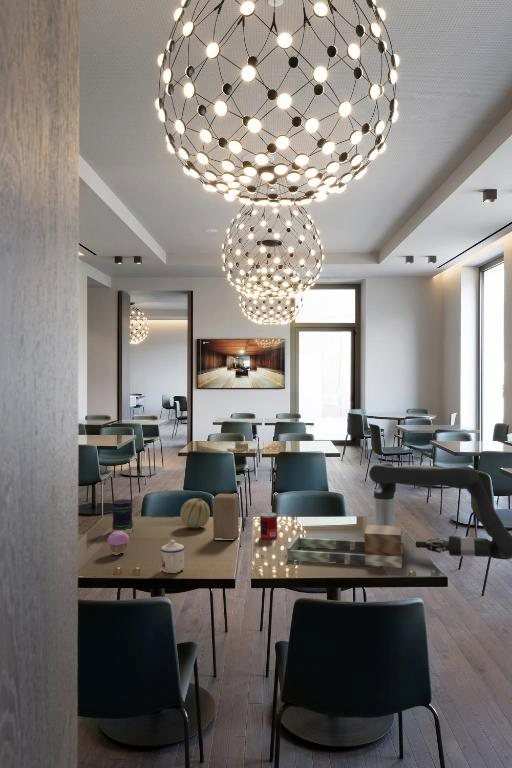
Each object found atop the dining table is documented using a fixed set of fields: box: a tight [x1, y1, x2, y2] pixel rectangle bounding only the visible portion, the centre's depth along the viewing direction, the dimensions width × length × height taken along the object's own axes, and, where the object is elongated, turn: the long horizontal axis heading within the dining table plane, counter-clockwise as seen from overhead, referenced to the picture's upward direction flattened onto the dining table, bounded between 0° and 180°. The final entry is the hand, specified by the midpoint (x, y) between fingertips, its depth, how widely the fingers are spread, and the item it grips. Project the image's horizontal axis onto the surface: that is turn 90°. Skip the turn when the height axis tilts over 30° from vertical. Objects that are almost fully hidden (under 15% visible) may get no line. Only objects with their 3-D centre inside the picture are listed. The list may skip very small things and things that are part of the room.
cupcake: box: [107, 531, 130, 553], centre depth 256 cm, size 9×9×10 cm
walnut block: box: [363, 524, 403, 558], centre depth 243 cm, size 14×14×12 cm
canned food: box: [259, 512, 278, 541], centre depth 278 cm, size 8×8×11 cm
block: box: [212, 493, 240, 540], centre depth 278 cm, size 10×10×20 cm
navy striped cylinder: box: [111, 499, 134, 530], centre depth 294 cm, size 10×10×15 cm
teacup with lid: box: [160, 539, 185, 570], centre depth 232 cm, size 12×9×12 cm
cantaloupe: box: [180, 497, 211, 528], centre depth 299 cm, size 15×15×15 cm
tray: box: [286, 534, 404, 569], centre depth 247 cm, size 45×20×5 cm, turn 75°
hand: (415, 544), depth 240 cm, fingers closed
